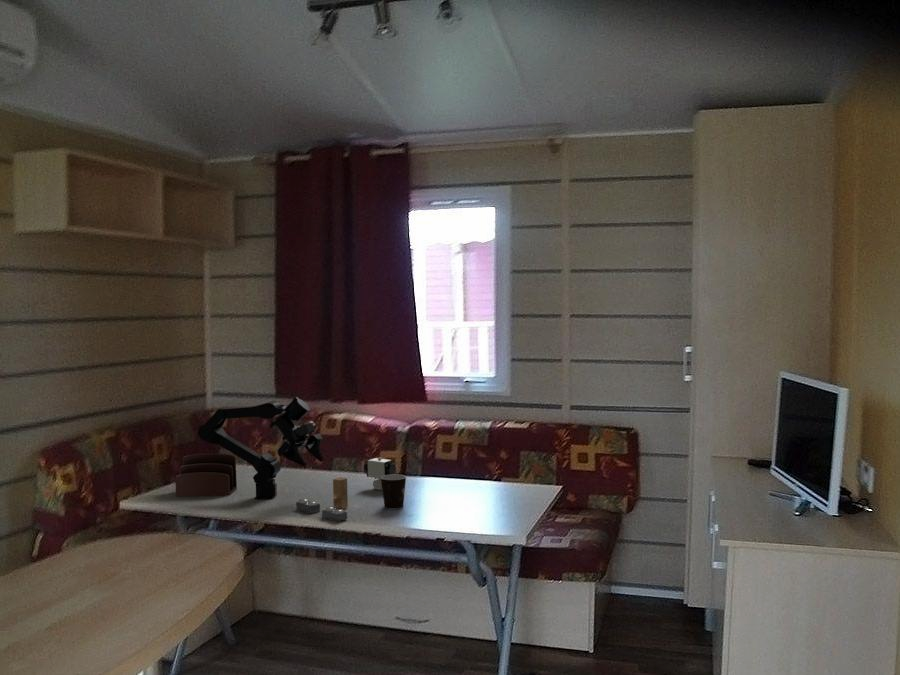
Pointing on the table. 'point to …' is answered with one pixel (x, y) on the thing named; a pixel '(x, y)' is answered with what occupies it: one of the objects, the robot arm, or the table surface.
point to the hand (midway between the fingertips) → (313, 463)
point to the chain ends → (327, 513)
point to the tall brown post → (340, 493)
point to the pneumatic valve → (379, 470)
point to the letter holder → (207, 475)
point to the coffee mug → (393, 490)
